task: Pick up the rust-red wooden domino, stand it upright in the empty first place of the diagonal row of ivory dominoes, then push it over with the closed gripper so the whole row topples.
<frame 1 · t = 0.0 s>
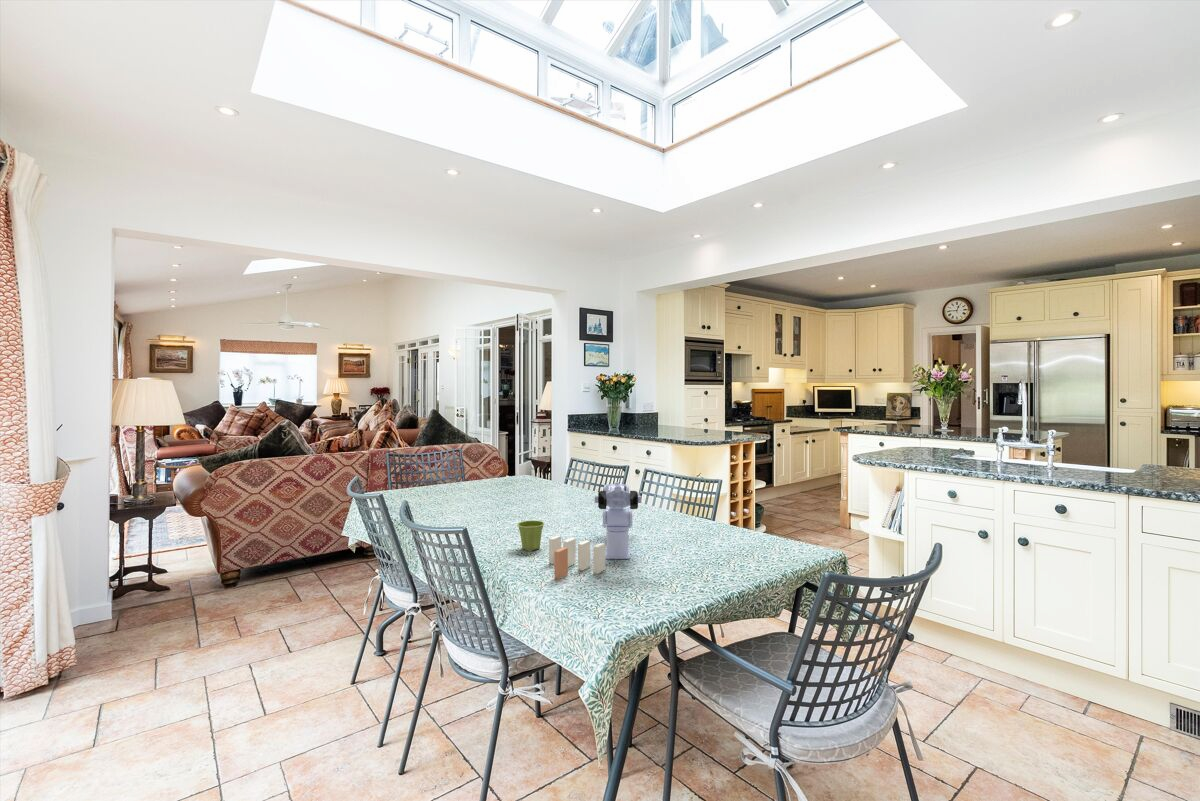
hand: (618, 502, 159), 22 cm above the table, tool horizontal, fingers open, 7 cm apart
ivory domino 1: (599, 571, 164), on the table
rust domino: (561, 576, 159), on the table
plant pot: (530, 548, 187), on the table
ivory domino 3: (569, 565, 169), on the table
ivory domino 4: (555, 562, 172), on the table
ivory domino 2: (584, 568, 167), on the table
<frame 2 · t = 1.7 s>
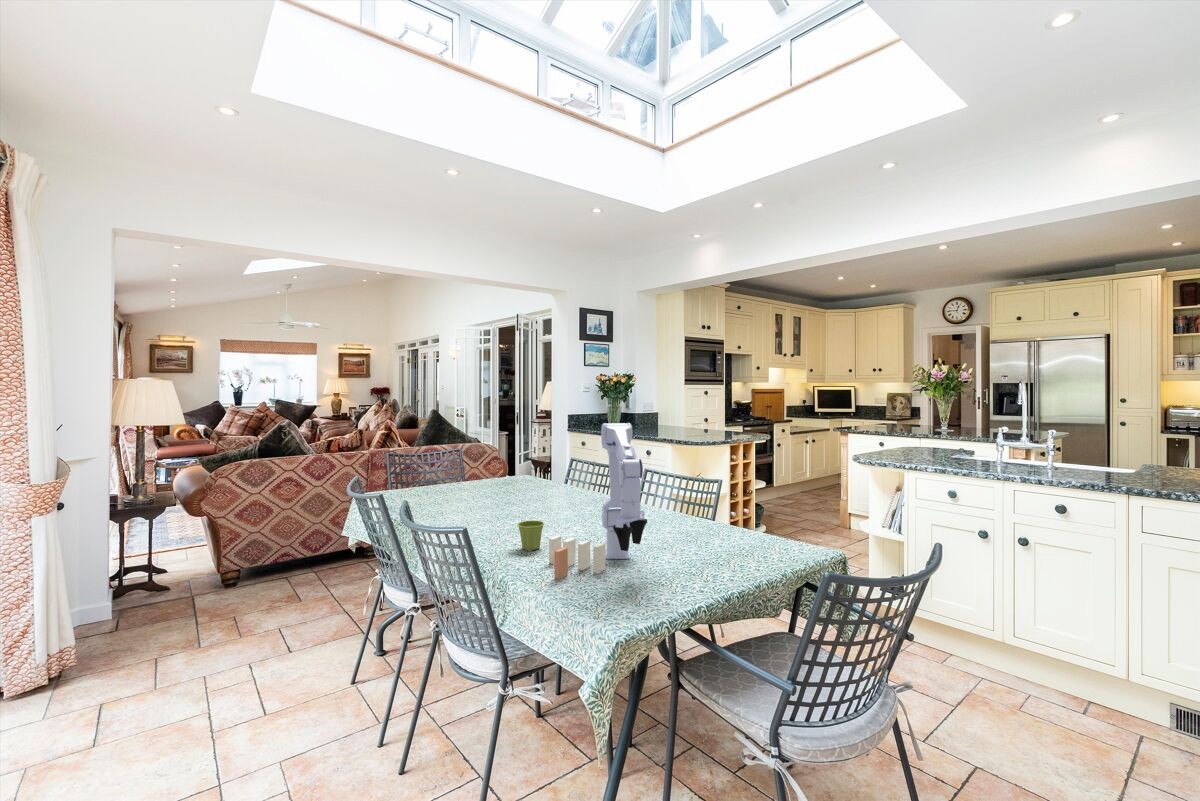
hand: (630, 546, 157), 9 cm above the table, tool pointing down, fingers open, 7 cm apart
nothing on the table moved.
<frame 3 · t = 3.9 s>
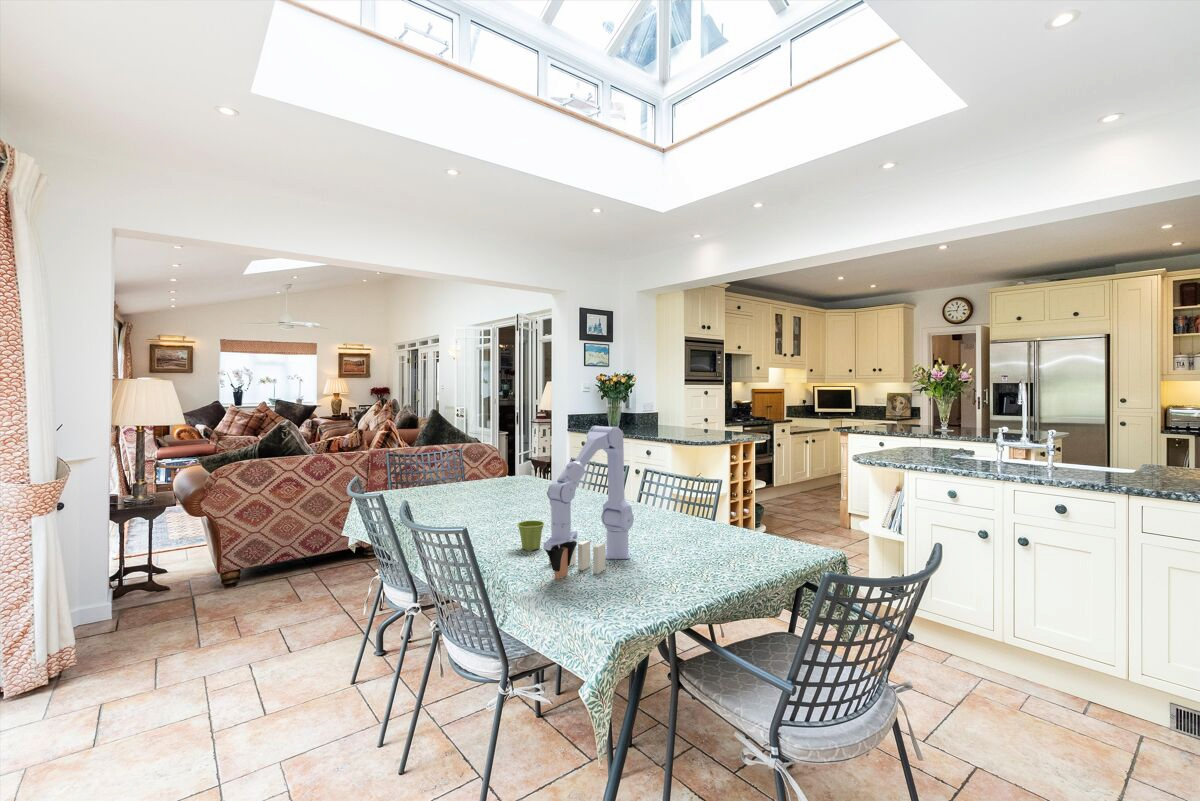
hand: (561, 568, 159), 2 cm above the table, tool pointing down, fingers closed on rust domino, 4 cm apart
rust domino: (561, 576, 159), on the table, touching gripper
everything else where it was.
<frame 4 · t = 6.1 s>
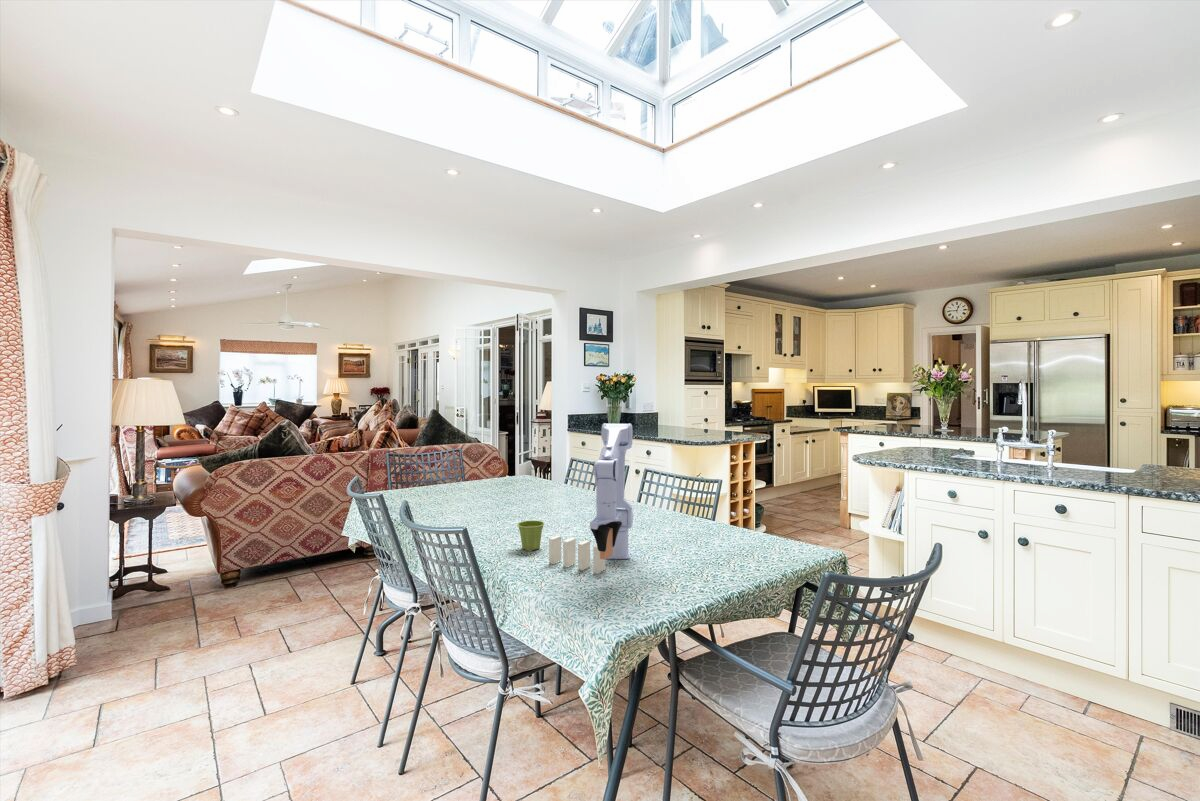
hand: (606, 548, 155), 9 cm above the table, tool pointing down, fingers closed on rust domino, 4 cm apart
rust domino: (606, 557, 155), point 7 cm above the table, touching gripper
everything else where it was.
when the fingers open (3 cm above the table, at t = 8.6 s): rust domino stays where it is, on the table.
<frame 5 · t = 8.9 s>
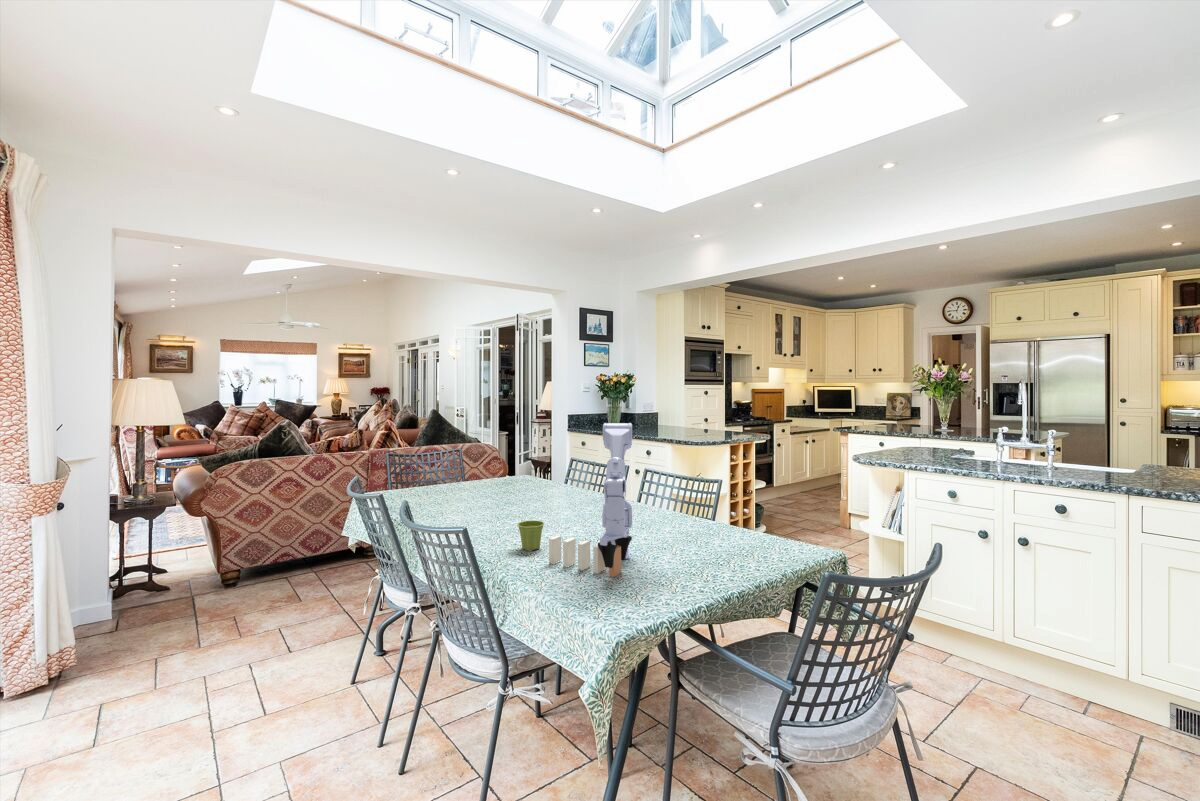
hand: (615, 563, 161), 3 cm above the table, tool pointing down, fingers open, 7 cm apart
rust domino: (615, 574, 161), on the table
everything else where it was.
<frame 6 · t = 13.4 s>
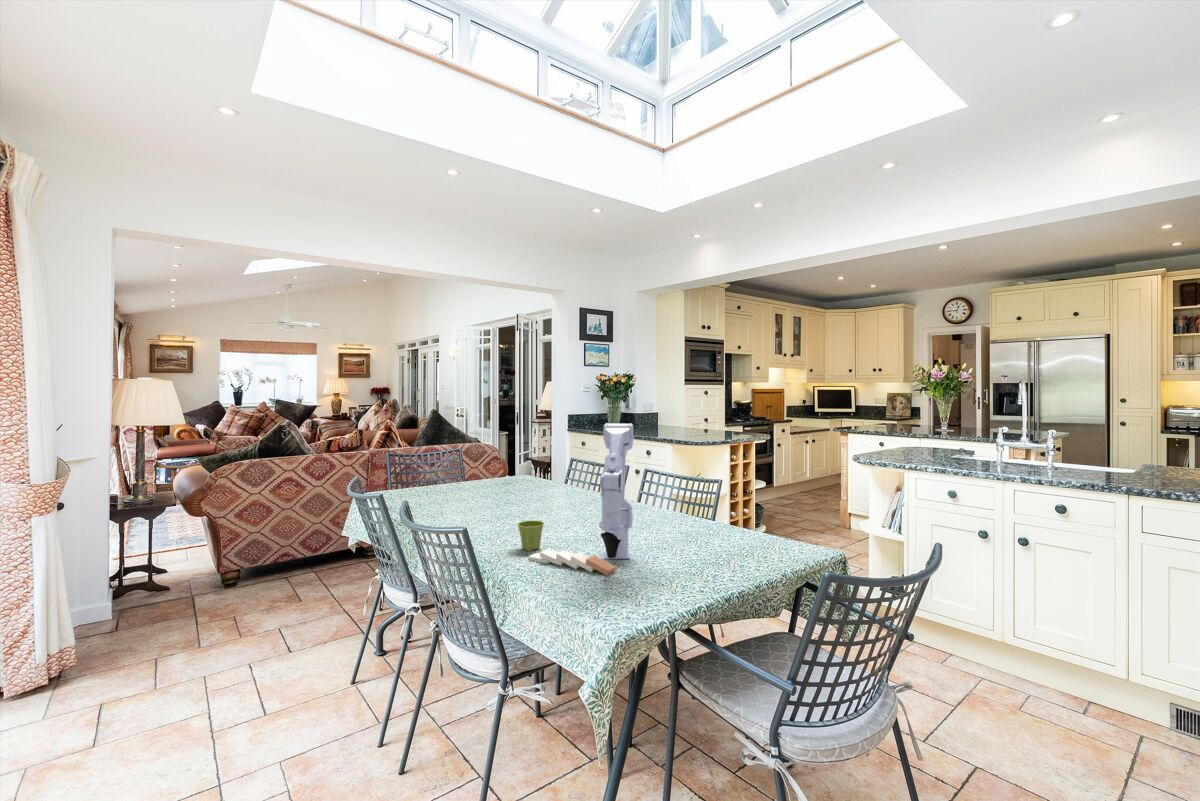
hand: (611, 557, 161), 5 cm above the table, tool pointing down, fingers closed
ivory domino 1: (595, 567, 164), point 1 cm above the table, tilted 73°, touching ivory domino 2, rust domino
rust domino: (611, 571, 162), point 1 cm above the table, tilted 73°, touching ivory domino 1
ivory domino 3: (564, 561, 170), point 1 cm above the table, tilted 77°, touching ivory domino 2, ivory domino 4
ivory domino 4: (552, 560, 173), on the table, tilted 90°, touching ivory domino 3
ivory domino 2: (580, 565, 167), point 1 cm above the table, tilted 74°, touching ivory domino 1, ivory domino 3
everything else where it was.
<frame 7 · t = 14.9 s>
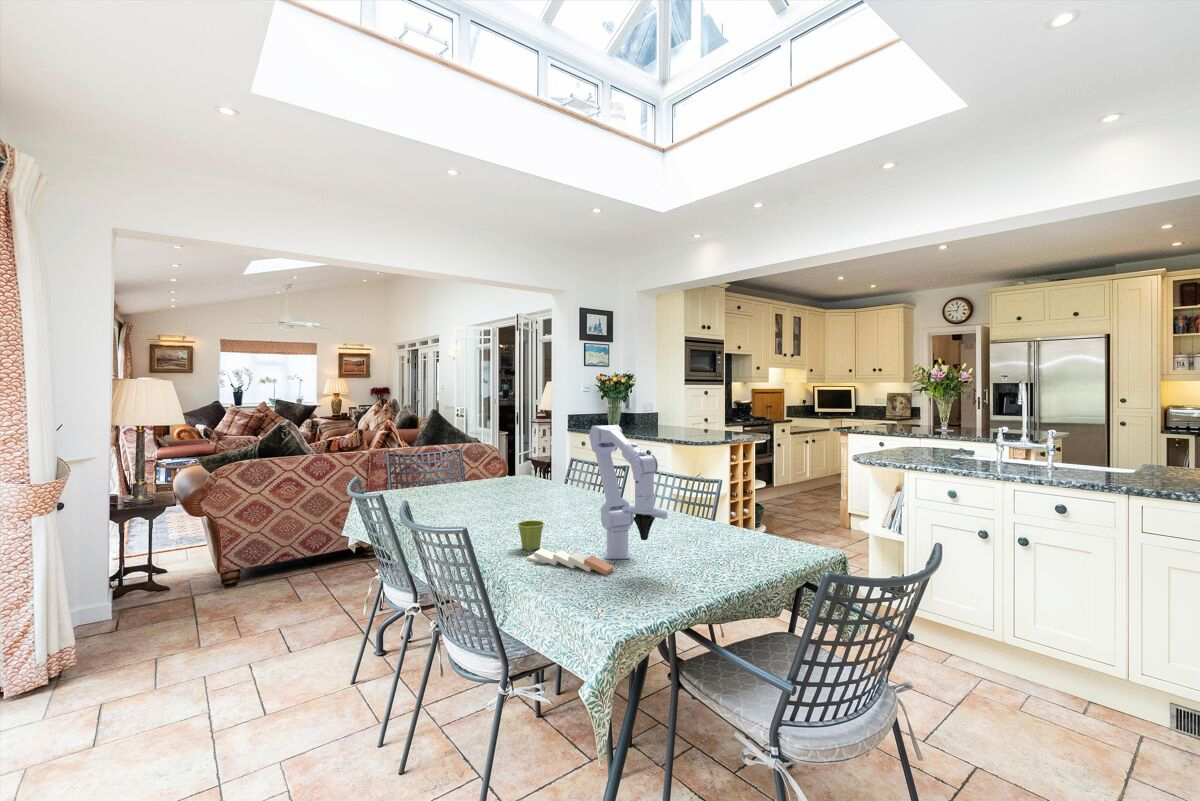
hand: (644, 539, 165), 9 cm above the table, tool pointing down, fingers closed
ivory domino 1: (593, 567, 165), point 1 cm above the table, tilted 74°
rust domino: (609, 570, 162), point 1 cm above the table, tilted 74°
ivory domino 3: (559, 561, 171), point 1 cm above the table, tilted 77°, touching ivory domino 2, ivory domino 4
ivory domino 2: (577, 564, 168), point 1 cm above the table, tilted 75°, touching ivory domino 3
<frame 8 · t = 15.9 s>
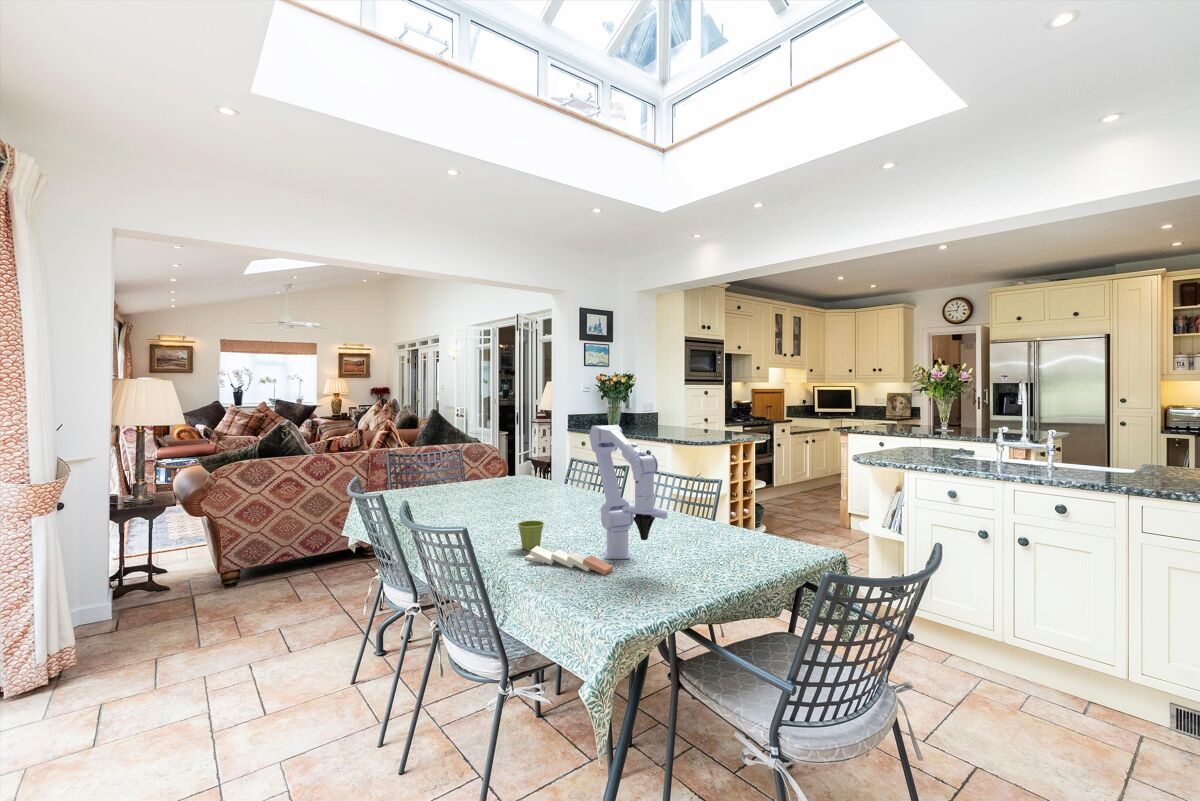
hand: (644, 539, 165), 9 cm above the table, tool pointing down, fingers closed
ivory domino 1: (592, 567, 165), point 1 cm above the table, tilted 75°, touching rust domino
rust domino: (608, 570, 162), point 1 cm above the table, tilted 74°, touching ivory domino 1
ivory domino 3: (555, 560, 171), point 1 cm above the table, tilted 72°, touching ivory domino 2
ivory domino 4: (549, 560, 173), on the table, tilted 90°
at the end: rust domino 1.6 cm from the target spot, point 0.8 cm above the table; ivory domino 4 tilted 90°; the gripper is holding nothing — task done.
